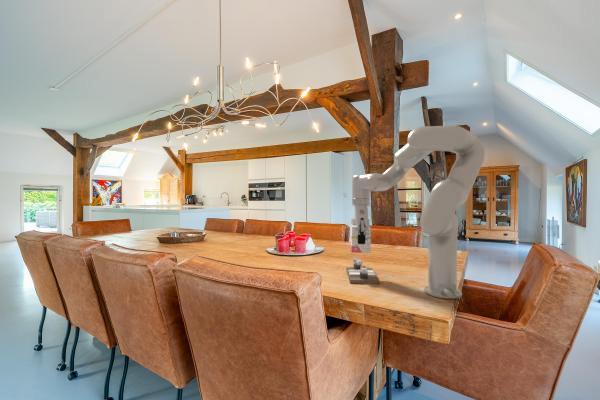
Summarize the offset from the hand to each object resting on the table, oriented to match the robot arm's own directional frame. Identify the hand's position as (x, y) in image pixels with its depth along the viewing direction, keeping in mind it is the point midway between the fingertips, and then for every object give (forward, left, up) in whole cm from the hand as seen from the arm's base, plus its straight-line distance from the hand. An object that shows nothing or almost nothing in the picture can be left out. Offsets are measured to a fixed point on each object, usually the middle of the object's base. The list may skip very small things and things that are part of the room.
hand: (360, 242), depth 131 cm
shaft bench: (0, 0, -15) cm, 15 cm away
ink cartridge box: (0, 0, -5) cm, 5 cm away
